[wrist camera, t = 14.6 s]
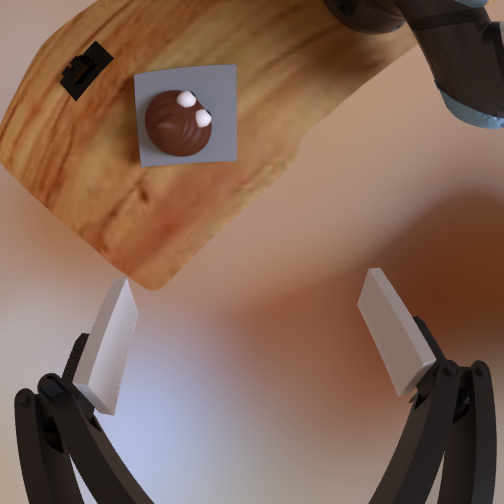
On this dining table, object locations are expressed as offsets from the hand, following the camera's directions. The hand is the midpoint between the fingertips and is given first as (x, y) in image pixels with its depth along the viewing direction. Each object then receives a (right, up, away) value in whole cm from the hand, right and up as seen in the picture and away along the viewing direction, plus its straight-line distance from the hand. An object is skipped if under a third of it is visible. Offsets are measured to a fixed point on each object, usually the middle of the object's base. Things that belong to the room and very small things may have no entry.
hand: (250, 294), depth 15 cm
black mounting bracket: (-26, +31, +16) cm, 44 cm away
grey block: (-9, +23, +22) cm, 33 cm away
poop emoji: (-10, +20, +19) cm, 30 cm away
